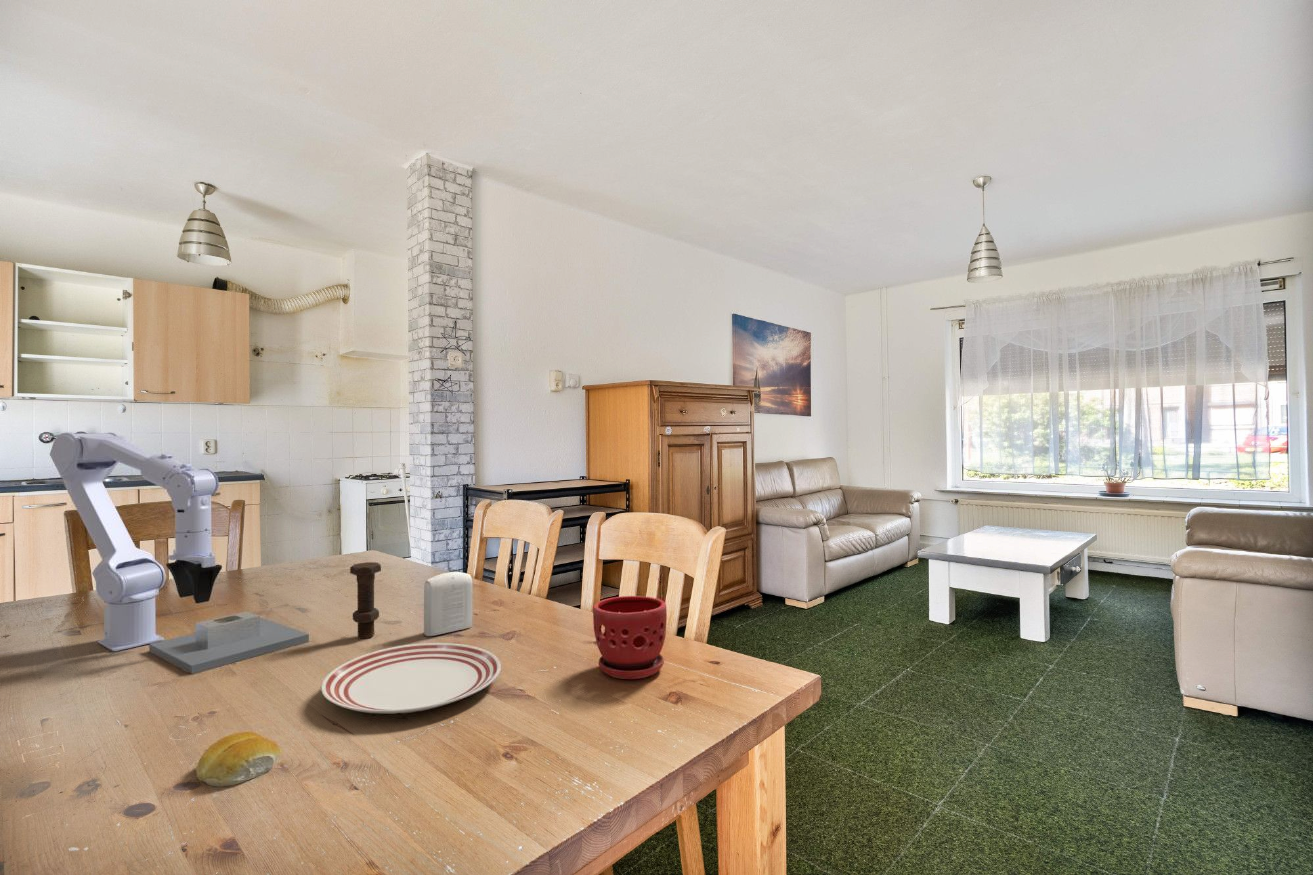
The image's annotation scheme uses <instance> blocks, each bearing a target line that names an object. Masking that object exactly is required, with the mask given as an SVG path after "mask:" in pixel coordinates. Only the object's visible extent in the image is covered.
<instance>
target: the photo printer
mask: <svg viewBox="0 0 1313 875" xmlns="http://www.w3.org/2000/svg"><path fill="white" fill-rule="evenodd" d="M472 626H473V579H472V576H471V574H469V573H465V572H459V571H452V572H445V573H440V574H438V575H434V576H432V577H430V578H429V579H427V580H425V582H424V587H423V634H424V635H425V636H426V637H433V636H439V635H442V634H448V633H451V632H456V631H460V630H465V629H470V628H472Z"/></svg>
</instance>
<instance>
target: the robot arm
mask: <svg viewBox="0 0 1313 875" xmlns="http://www.w3.org/2000/svg"><path fill="white" fill-rule="evenodd" d="M52 443H53V444H52V446H51V449H50V452H49V456H50V458H51V460H52V462H53V464H54V466H55V468H56V470H57V472H58V475H60V478H61V479H62V481H63V485H64V486H65V489H66V491H67V493H68V495H69V497H70V499H71V502H72V503H73V505H74V507H75V509H76V511H77V513H78V515H79V517H80V518H81V521H82V522H83V524H84V526H85V529H86V530H87V532H88V535H89V536H90V538H91V540H92V542H93V544H94V546H95V547H96V550H97V551H98V554H99V556H100V558H101V561H100V562H99V563H98V564H97V566H95V568H94V569H93V571H92V576H93V578H94V581H95V590H96V593H97V595H98V596H99V598H100V599H101V600H102V601H103V603H104V604H106V606H105V609H104V613H103V614H104V615H103V617H104V618H103V619H104V620H103V621H104V622H103V623H104V624H103V625H104V627H103V628H104V638H103V639H99V640H98V641H97V642H98V644H100V645H101V646H103V647H105V648H106V649H108V650H110V651H112V652H118V651H123V650H126V649H132V648H135V647H140V646H143V645H144V646H146V645H149V644H151V643H156V642H160V641H164V640H165V638H164V637H163V636H161V635H159V634H156V595H157V596H158V595H159V594H160V592H159V590H160V589H161V588H162V587H164V586H165V583H166V578H167V573H166V570H165V568H164V566H163V565H162V564H161V563H159V561H157V560H156V559H155V557H154V555H153V554H152V553H151V552H148V551H145V550H144V549H142V548H138V547H136V545H135V543H134V541H133V539H132V537H131V535H130V533H129V532H128V529H127V527H126V526H125V524H124V522H123V520H122V517H121V515H120V514H119V512H118V510H117V508H116V506H115V504H114V502H113V501H112V498H111V496H110V494H109V493H108V491H107V488H106V487H105V485H104V483H103V482H104V479H106V478H107V477H109V476H110V475H111V474H112V472H113V471H114V469H115V467H116V466H117V464H119V463H120V464H123V465H126V466H127V467H131V468H133V469H136V470H139V471H140V475H141V477H142V478H143V479H144V480H146V481H148V482H150V483H152V484H154V485H156V486H158V487H160V488H163V489H164V490H166V493H167V494H168V496H169V498H170V499H171V506H172V507H173V509H174V520H175V521H174V524H175V525H174V526H175V527H174V528H175V529H174V530H175V531H174V534H175V535H174V536H175V537H174V538H175V541H174V542H175V543H174V546H175V549H173V551H172V553H173V554H172V555H171V554H170V555H167V560H169V561H171V562H168V563H166V564H165V565H166V567H167V569H168V571H169V572H170V574H171V576H172V578H173V581H174V584H175V587H176V591H177V594H178V596H179V598H181V599H182V598H186V597H191V596H193V601H194V602H195V604H201V603H208V602H210V599H211V595H212V592H213V589H214V584H215V581H216V579H217V577H218V576H219V574H220V572H221V570H222V569H223V566H222V564H216V555H214V551H213V550H212V549H213V548H212V496H214V495H216V493H217V492H218V489H219V478H218V475H217V474H216V473H215V472H214V471H212V470H211V469H209V468H200V469H196V468H194V467H193V465H192V464H190V463H183V462H181V461H179V460H177V459H174V455H172V454H170V453H157V454H154V455H153V454H150V453H148V451H147V452H146V451H145V450H143V449H142V448H139V447H138V446H135V445H134V444H132V443H130V442H129V441H127V438H126V436H123V435H119V434H117V433H115V432H106V433H105V432H104V433H89V432H88V433H72V432H62V433H61V434H58V435H57V437H55V439H54V441H53V442H52ZM173 561H174V562H173Z"/></svg>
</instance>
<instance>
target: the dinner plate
mask: <svg viewBox="0 0 1313 875" xmlns="http://www.w3.org/2000/svg"><path fill="white" fill-rule="evenodd" d="M501 670H502V664H501V662H500V659H499V658H498V657H497V656H496V655H495V654H494V653H492V652H491V651H488V650H486V649H484V648H480V647H478V646H473V645H468V644H462V643H450V642H430V643H429V642H424V643H413V644H405V645H398V646H394V647H393V646H392V647H387V648H384V649H380V650H376V651H372V652H369V653H366V654H363V655H362V654H361V655H359V656H357V657H355V658H352V659H350V660H349V661H346V662H345V663H343V664H340V665H338V666H337V667H336V668H334V669H333V670H331V671H330V672H329V673H328V674H327V675H326V676H325V677H324V679H323V680H322V682H321V686H320V690H321V693H322V695H323V697H325V699H326V700H327V701H329V702H331V703H333V704H335V705H336V706H339V707H340V708H344V709H348V710H351V711H355V712H361V713H368V714H369V713H370V714H386V715H387V714H390V715H392V714H393V715H394V714H395V715H396V713H397V715H399V714H398V713H401V714H411V713H417V711H418V712H423V711H427V710H431V709H435V708H438V707H442V706H446V705H448V704H451V703H455V702H457V701H460V700H462V699H464V698H467V697H470V696H472V695H474V694H476V693H478V692H480V691H482V690H483V689H486V688H487V687H488V686H489V685H490V684H492V683H493V682H494V681H496V679H497V678H498V677H499V675H500V673H501Z"/></svg>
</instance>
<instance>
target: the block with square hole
mask: <svg viewBox="0 0 1313 875" xmlns="http://www.w3.org/2000/svg"><path fill="white" fill-rule="evenodd" d="M260 618H261V616H260V615H258V614H255V613H252V612H249V611H243V612H239V613H234V614H230V615H225V616H221V617H216V618H212V619H208V620H207V619H206V620H202V621H197V622H195V630H194V631H195V643H196V644H198V645H200V646H202V647H204V648H206V649H210V648H214V647H218V646H222V645H226V644H230V643H234V642H238V641H242V640H246V639H249V638H253V637H257V636H260Z"/></svg>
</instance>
